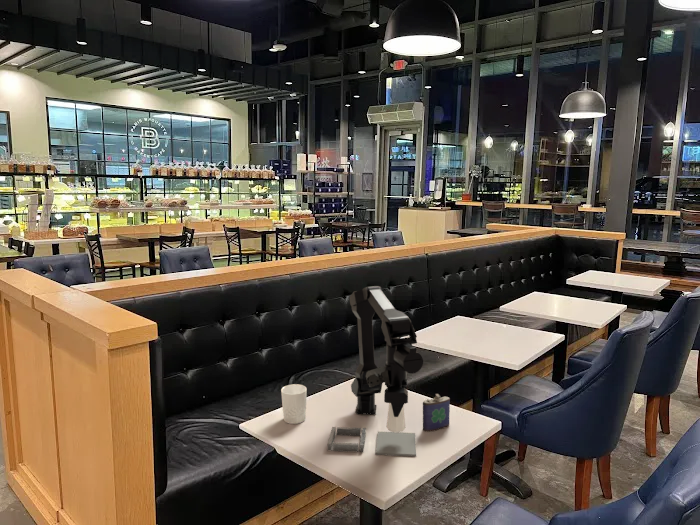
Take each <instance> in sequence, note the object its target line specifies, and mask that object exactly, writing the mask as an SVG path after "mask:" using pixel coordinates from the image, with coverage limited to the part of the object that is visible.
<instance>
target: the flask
mask: <svg viewBox="0 0 700 525" xmlns="http://www.w3.org/2000/svg"><path fill="white" fill-rule="evenodd" d="M450 400H451V398H450V397H448V396H442V397H441V395H440V394H439V393H435V397H433V398H432V399H431V398H430V399H428V398H427V399H425V400H424V401H423V402H422V431H423V432H426V433H429V432H434V431H439V430H442V429H446V428H448V427H449V426H450V407H451V406H450V405H451V404H450V403H451V402H450Z"/></svg>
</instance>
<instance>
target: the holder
mask: <svg viewBox="0 0 700 525" xmlns="http://www.w3.org/2000/svg"><path fill="white" fill-rule="evenodd" d="M349 435H350V436H351V437H352V436H354V437H355V436H356V437H358V436H359V437H360V442H359V443H356V442H334V441H335V438H336V436H349ZM366 435H367V428H366V427H362V428H361V427H344V426H342V427H341V426H337V427H336V426H332V427H331V429H330V434H329V438H328V442H327V451H328V450H331V451H332V452H348V451H357V452H356V453H358V452H359V453H364V452H365V451H364V449H365V443H366ZM332 445H333V446H332Z"/></svg>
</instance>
